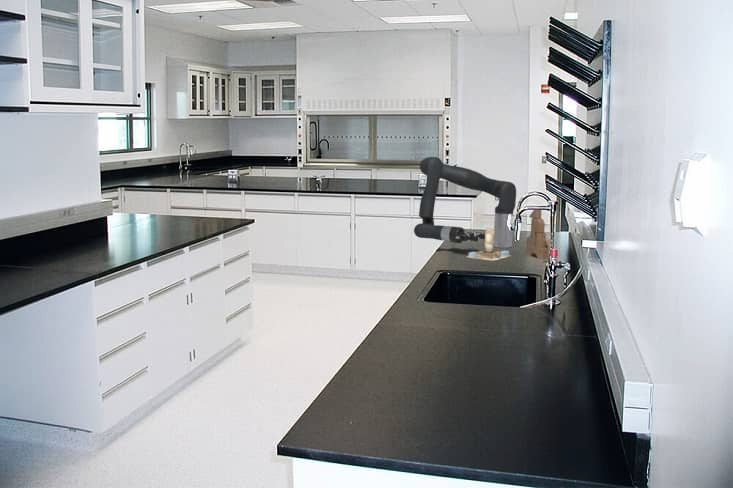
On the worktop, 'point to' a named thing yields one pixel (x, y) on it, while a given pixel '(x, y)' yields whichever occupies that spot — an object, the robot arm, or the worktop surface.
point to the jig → (489, 256)
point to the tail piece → (473, 254)
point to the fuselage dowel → (489, 240)
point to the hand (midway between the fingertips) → (482, 238)
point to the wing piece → (504, 253)
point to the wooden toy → (537, 238)
